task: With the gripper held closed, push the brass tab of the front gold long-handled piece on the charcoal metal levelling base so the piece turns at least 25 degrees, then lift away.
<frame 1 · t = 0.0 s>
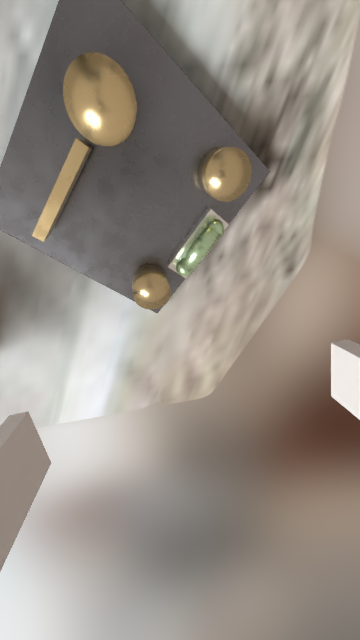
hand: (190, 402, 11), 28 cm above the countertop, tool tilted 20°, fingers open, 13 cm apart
gold long-handled piece: (76, 162, 24), point 4 cm above the countertop, hinge at 0.0°
levelling base: (131, 192, 30), on the countertop
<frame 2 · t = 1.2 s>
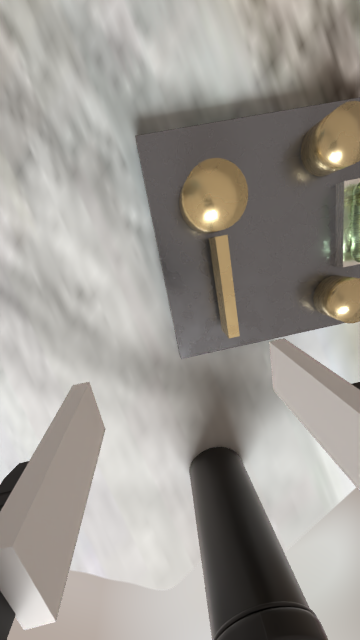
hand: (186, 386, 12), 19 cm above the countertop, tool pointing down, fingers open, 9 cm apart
gold long-handled piece: (219, 256, 26), point 4 cm above the countertop, hinge at 0.0°
water bottle: (215, 467, 39), on the countertop
levelling base: (258, 241, 30), on the countertop
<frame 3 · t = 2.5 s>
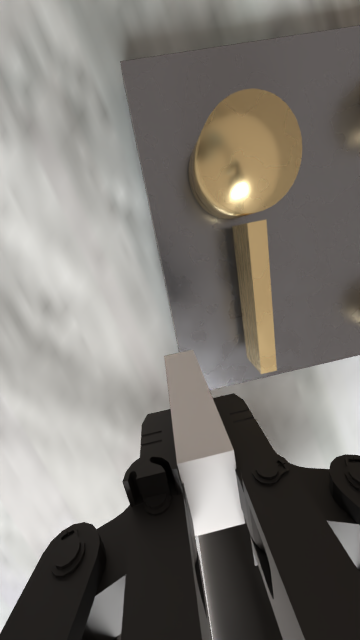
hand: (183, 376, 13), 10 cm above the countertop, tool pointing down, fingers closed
gold long-handled piece: (248, 253, 17), point 4 cm above the countertop, hinge at 0.0°
water bottle: (230, 520, 31), on the countertop
levelling base: (296, 232, 21), on the countertop
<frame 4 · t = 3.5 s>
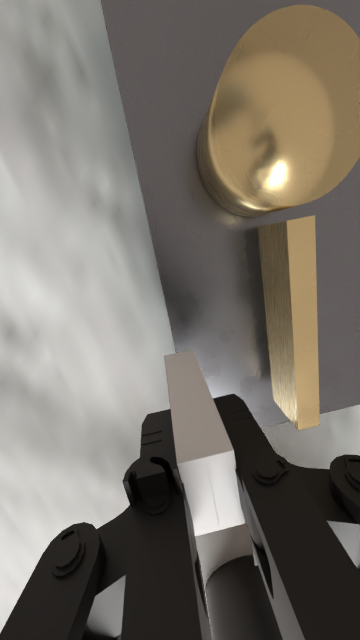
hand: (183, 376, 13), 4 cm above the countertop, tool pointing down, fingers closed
gold long-handled piece: (281, 264, 12), point 4 cm above the countertop, hinge at 0.0°
water bottle: (244, 580, 26), on the countertop
levelling base: (337, 234, 16), on the countertop
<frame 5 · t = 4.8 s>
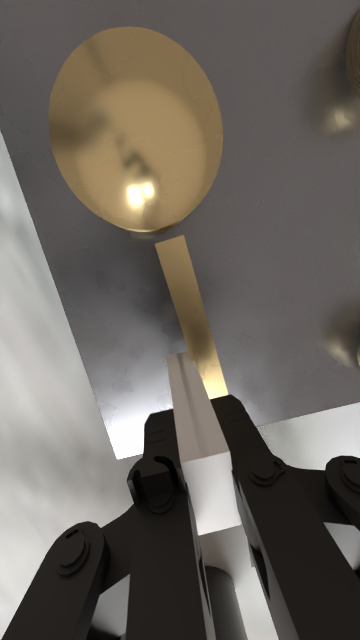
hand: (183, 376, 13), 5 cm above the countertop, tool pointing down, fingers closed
gold long-handled piece: (179, 281, 12), point 4 cm above the countertop, hinge at 5.7°, touching gripper
water bottle: (193, 590, 26), on the countertop
levelling base: (254, 248, 16), on the countertop
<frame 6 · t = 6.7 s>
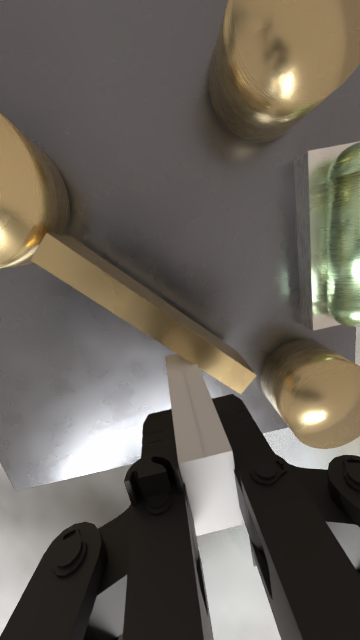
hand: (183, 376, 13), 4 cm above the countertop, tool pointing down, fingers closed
gold long-handled piece: (97, 274, 11), point 4 cm above the countertop, hinge at 42.8°, touching gripper
levelling base: (151, 275, 15), on the countertop
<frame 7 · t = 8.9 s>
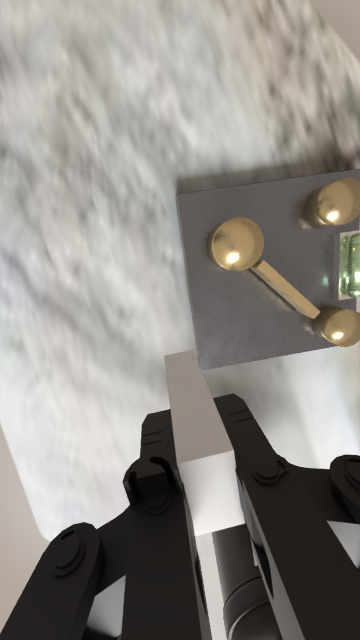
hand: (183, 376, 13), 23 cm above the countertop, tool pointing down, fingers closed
gold long-handled piece: (265, 273, 32), point 4 cm above the countertop, hinge at 42.9°
water bottle: (224, 467, 44), on the countertop
levelling base: (269, 275, 36), on the countertop
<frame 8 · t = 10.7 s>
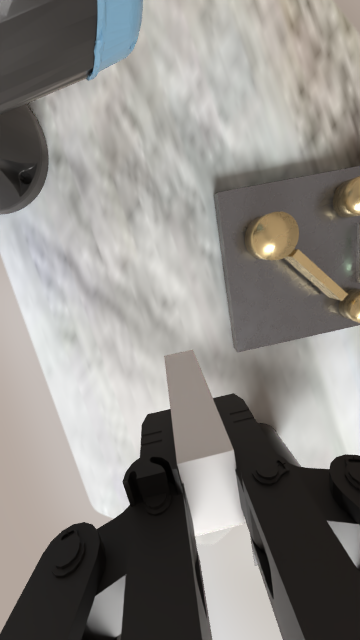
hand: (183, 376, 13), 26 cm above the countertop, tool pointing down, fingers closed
gold long-handled piece: (297, 261, 35), point 4 cm above the countertop, hinge at 42.9°
water bottle: (255, 440, 49), on the countertop
levelling base: (297, 263, 39), on the countertop
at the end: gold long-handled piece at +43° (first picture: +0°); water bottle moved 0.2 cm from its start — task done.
